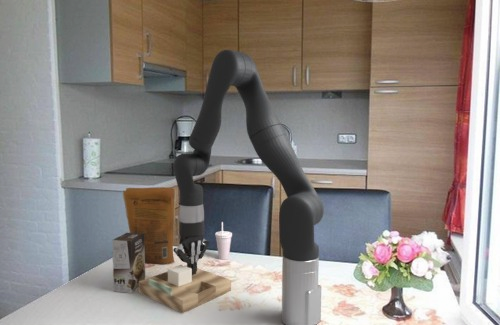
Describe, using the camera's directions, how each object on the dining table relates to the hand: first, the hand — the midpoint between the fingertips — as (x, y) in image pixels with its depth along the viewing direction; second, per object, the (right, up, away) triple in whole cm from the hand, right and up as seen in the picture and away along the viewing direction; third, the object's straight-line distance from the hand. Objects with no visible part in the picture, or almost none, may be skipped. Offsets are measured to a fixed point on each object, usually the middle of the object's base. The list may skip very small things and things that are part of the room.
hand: (192, 273), depth 124 cm
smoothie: (+8, -2, +28) cm, 29 cm away
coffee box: (-20, -5, +2) cm, 20 cm away
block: (-3, -1, -3) cm, 5 cm away
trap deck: (-2, -5, -2) cm, 6 cm away
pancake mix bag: (-18, -2, +24) cm, 30 cm away
